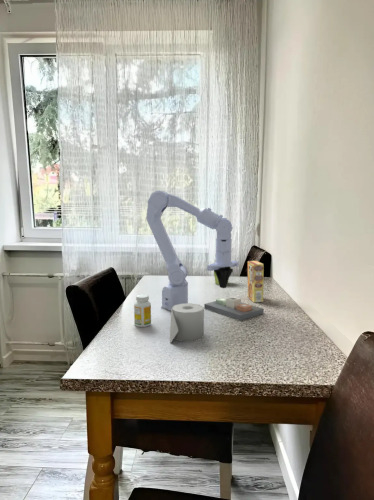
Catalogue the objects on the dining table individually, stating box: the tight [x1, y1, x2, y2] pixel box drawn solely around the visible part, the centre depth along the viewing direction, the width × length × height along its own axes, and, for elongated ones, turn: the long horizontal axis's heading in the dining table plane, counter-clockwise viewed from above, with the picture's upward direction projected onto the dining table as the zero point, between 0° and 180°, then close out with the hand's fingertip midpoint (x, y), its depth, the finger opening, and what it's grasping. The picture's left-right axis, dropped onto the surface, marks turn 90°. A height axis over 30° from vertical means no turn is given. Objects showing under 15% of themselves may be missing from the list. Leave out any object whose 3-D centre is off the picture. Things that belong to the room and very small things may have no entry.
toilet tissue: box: [169, 302, 205, 344], centre depth 106 cm, size 9×13×9 cm
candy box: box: [247, 260, 265, 303], centre depth 146 cm, size 9×4×15 cm, turn 8°
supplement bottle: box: [133, 293, 152, 328], centre depth 117 cm, size 5×5×10 cm
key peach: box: [236, 303, 252, 312], centre depth 127 cm, size 4×4×3 cm
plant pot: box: [213, 267, 232, 286], centre depth 175 cm, size 9×9×9 cm
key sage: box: [215, 297, 227, 306], centre depth 135 cm, size 4×4×3 cm
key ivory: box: [225, 296, 242, 309], centre depth 131 cm, size 4×4×3 cm
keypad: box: [203, 300, 265, 321], centre depth 132 cm, size 12×18×2 cm, turn 39°
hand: (223, 287), depth 135 cm, fingers closed
